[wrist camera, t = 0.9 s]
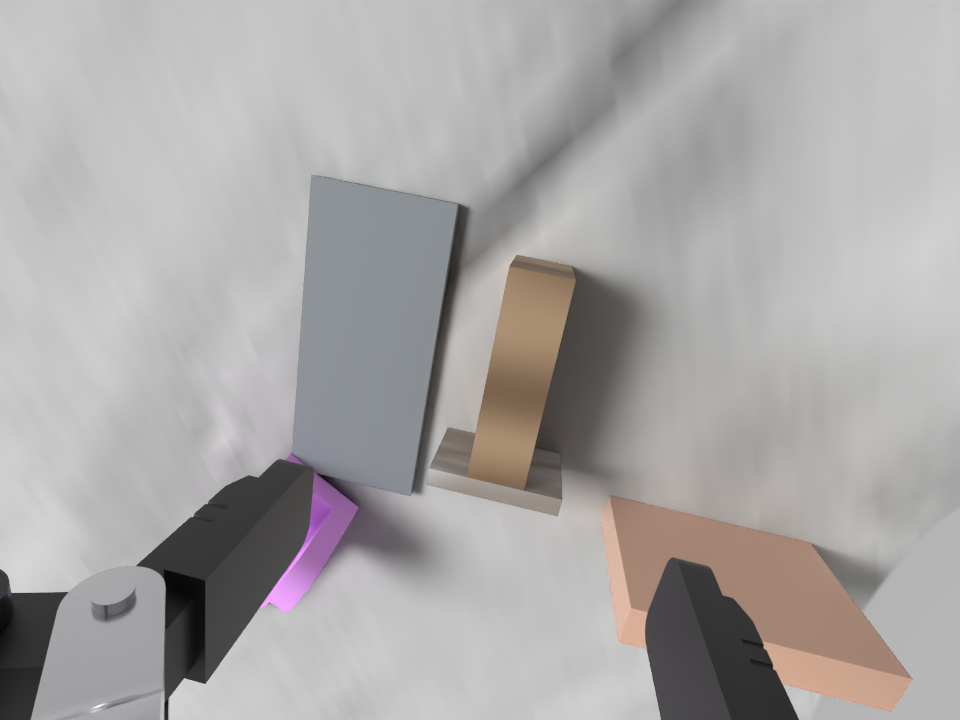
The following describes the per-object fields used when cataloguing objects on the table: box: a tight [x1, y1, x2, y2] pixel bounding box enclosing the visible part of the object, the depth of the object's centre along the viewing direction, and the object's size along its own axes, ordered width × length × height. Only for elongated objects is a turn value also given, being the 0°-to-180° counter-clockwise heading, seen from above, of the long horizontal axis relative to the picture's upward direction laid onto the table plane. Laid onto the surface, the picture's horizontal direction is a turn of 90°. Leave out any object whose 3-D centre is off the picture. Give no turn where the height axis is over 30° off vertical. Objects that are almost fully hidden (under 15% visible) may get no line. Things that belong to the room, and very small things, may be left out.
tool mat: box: [292, 175, 460, 496], centre depth 29 cm, size 18×8×1 cm, turn 169°
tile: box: [601, 495, 912, 712], centre depth 26 cm, size 2×12×9 cm, turn 79°
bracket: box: [259, 454, 359, 613], centre depth 31 cm, size 13×6×7 cm, turn 138°
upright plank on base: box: [426, 255, 576, 516], centre depth 26 cm, size 12×7×5 cm, turn 169°
